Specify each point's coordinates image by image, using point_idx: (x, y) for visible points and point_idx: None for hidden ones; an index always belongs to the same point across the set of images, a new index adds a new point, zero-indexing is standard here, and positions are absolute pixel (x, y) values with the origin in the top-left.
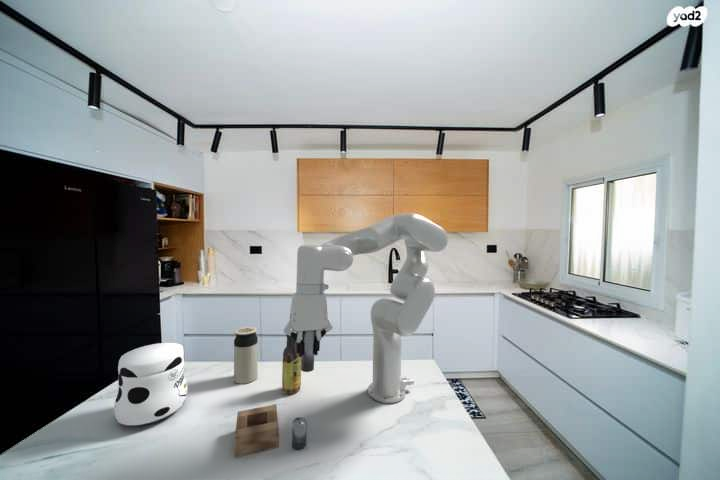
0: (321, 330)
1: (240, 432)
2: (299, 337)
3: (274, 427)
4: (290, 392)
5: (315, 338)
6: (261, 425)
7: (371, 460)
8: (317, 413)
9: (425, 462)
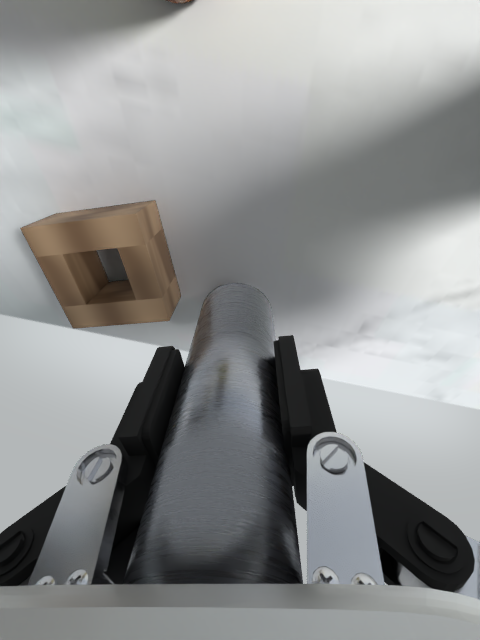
0: (404, 567)
1: (79, 317)
2: (127, 555)
3: (158, 319)
4: (175, 1)
5: (296, 493)
6: (122, 305)
7: (364, 363)
8: (285, 185)
9: (457, 386)
